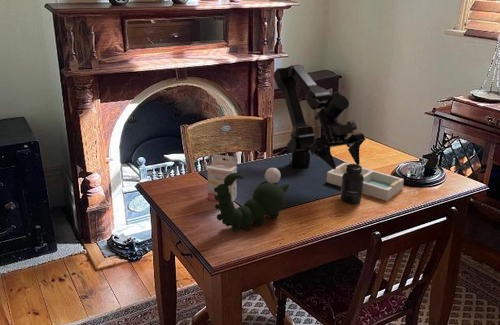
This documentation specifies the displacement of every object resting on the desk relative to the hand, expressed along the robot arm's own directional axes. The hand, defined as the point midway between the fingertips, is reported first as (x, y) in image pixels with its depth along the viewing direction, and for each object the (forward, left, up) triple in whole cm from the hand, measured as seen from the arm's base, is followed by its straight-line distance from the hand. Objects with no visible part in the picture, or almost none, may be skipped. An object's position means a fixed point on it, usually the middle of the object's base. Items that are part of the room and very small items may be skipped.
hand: (346, 166), depth 162 cm
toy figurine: (-30, -19, -11) cm, 37 cm away
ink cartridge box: (-41, -3, -11) cm, 42 cm away
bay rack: (+8, +8, -10) cm, 16 cm away
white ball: (-25, +10, -11) cm, 28 cm away
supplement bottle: (+1, -3, -11) cm, 11 cm away
